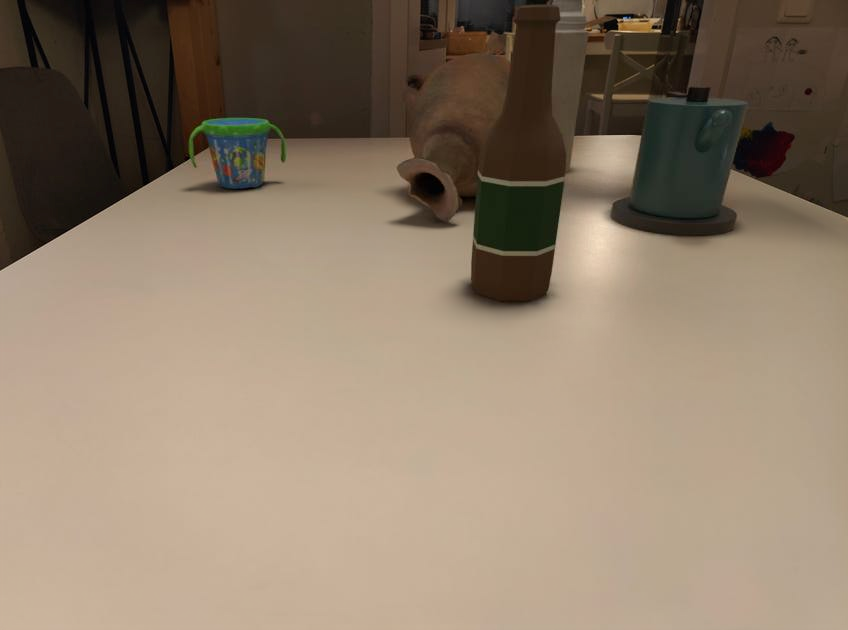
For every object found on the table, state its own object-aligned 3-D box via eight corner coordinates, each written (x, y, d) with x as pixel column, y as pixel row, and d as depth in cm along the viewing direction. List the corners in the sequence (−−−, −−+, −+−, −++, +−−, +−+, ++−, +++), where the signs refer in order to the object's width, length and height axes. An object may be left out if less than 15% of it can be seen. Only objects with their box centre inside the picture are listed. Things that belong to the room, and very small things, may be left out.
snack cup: (285, 176, 109) (280, 115, 104) (292, 189, 100) (288, 123, 95) (194, 181, 106) (185, 118, 101) (193, 195, 97) (184, 126, 92)
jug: (453, 175, 109) (372, 248, 88) (429, 56, 99) (331, 108, 79) (569, 161, 97) (507, 241, 77) (554, 25, 88) (479, 77, 68)
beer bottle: (555, 281, 62) (594, 5, 50) (540, 308, 55) (581, 1, 44) (480, 270, 65) (501, 8, 53) (458, 296, 58) (476, 4, 47)
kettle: (611, 188, 91) (630, 80, 84) (689, 190, 90) (715, 80, 83) (649, 226, 73) (676, 93, 66) (747, 229, 72) (786, 93, 65)
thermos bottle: (515, 168, 113) (533, -8, 100) (542, 163, 118) (562, -6, 105) (552, 175, 108) (575, -10, 95) (578, 169, 112) (604, -9, 99)
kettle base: (709, 207, 87) (712, 196, 87) (753, 237, 74) (757, 225, 74) (600, 204, 89) (602, 194, 88) (624, 233, 76) (626, 221, 75)
